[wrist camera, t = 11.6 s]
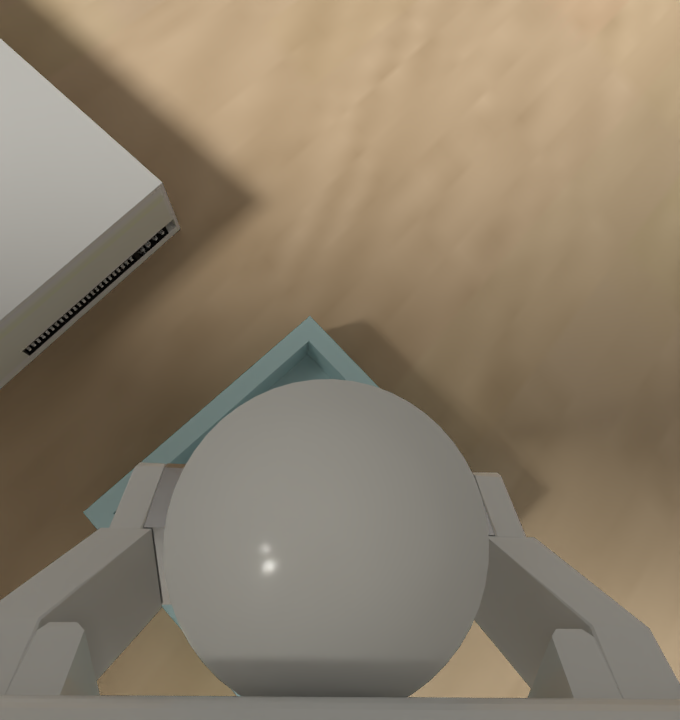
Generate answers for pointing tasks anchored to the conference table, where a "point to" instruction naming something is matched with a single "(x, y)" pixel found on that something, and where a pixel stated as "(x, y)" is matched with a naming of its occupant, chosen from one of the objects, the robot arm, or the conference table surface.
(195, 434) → the tray
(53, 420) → the conference table surface
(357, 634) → the marked fuse
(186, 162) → the conference table surface
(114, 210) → the disc drive
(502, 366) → the conference table surface
